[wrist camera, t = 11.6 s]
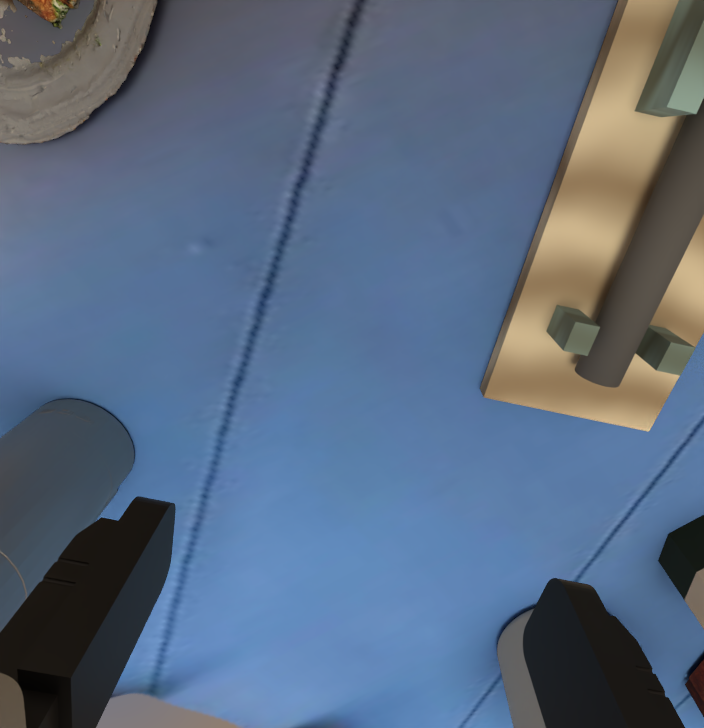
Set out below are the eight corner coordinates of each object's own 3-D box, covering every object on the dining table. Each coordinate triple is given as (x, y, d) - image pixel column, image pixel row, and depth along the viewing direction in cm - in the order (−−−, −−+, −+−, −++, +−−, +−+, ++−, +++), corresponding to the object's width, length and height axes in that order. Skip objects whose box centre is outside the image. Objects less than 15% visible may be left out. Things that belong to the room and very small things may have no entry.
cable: (608, 371, 35) (627, 391, 32) (568, 363, 35) (584, 382, 32) (780, 8, 26) (828, -7, 23) (727, -4, 26) (768, -22, 23)
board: (639, 421, 38) (674, 458, 34) (479, 388, 38) (493, 421, 33) (892, -52, 26) (1002, -95, 21) (657, -110, 25) (718, -166, 21)
